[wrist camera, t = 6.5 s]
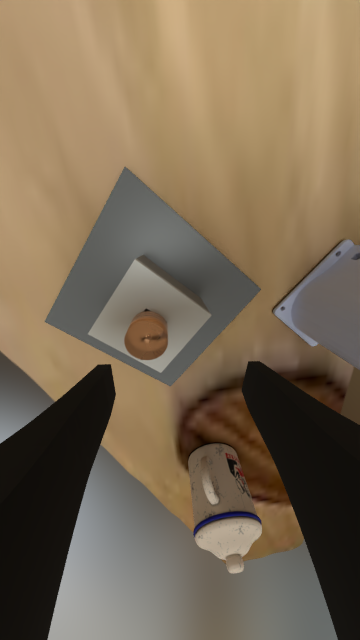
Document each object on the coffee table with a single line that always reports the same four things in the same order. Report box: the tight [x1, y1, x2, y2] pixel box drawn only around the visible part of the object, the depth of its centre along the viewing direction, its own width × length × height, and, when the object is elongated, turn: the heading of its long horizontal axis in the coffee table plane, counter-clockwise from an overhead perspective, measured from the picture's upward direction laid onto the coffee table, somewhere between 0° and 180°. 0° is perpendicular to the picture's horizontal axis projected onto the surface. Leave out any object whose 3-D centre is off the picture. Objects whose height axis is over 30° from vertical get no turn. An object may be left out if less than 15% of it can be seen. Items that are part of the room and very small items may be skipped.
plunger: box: [124, 308, 168, 360], centre depth 14 cm, size 5×5×6 cm
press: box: [45, 167, 261, 386], centre depth 16 cm, size 16×16×5 cm
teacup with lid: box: [188, 443, 262, 573], centre depth 25 cm, size 12×9×12 cm
